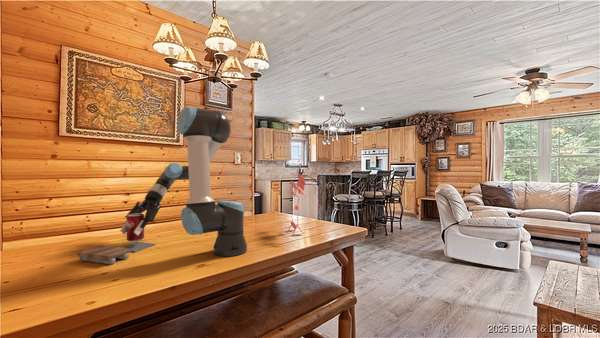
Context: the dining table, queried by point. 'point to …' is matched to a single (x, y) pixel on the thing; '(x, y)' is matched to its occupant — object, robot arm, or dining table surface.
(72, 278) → the dining table surface
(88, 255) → the slab on rollers
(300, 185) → the figurine
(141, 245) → the mat
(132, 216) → the soda can
